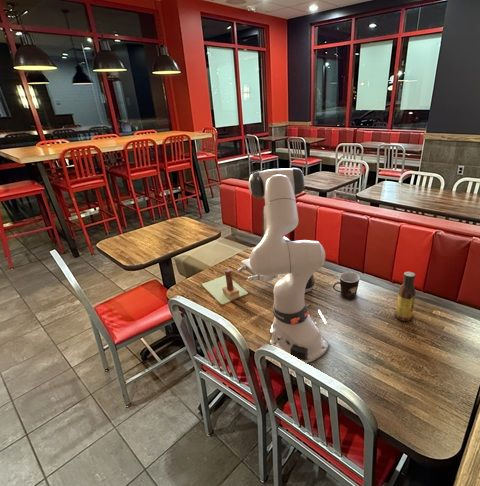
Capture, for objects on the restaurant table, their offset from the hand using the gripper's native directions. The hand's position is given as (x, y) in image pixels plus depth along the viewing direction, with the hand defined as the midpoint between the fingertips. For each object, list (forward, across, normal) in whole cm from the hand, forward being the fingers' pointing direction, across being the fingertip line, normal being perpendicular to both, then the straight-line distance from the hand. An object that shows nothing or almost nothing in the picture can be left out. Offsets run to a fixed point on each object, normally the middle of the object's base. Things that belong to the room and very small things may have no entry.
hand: (242, 275), depth 145 cm
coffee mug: (-33, +34, +9) cm, 48 cm away
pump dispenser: (-22, +18, +9) cm, 30 cm away
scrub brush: (+7, 0, +8) cm, 11 cm away
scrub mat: (+7, -7, +8) cm, 13 cm away
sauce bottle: (-40, +59, +9) cm, 72 cm away
